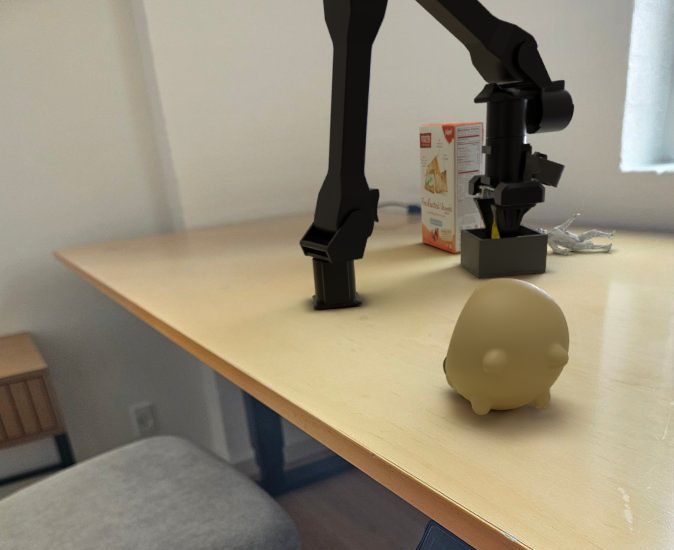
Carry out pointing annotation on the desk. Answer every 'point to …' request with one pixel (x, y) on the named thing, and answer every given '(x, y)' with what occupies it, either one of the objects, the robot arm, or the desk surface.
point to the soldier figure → (574, 238)
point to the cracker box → (449, 181)
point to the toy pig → (507, 346)
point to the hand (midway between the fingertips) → (501, 247)
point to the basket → (504, 252)
